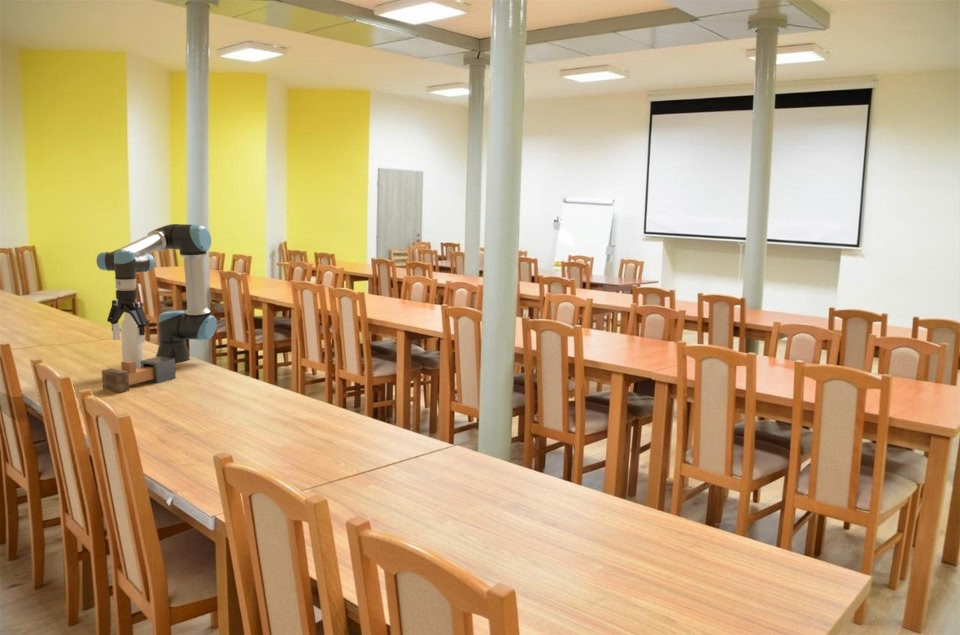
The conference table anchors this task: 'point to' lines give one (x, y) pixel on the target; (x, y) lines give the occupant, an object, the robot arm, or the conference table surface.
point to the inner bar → (137, 372)
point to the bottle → (130, 341)
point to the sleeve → (160, 368)
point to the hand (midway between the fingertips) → (128, 341)
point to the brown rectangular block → (115, 380)
